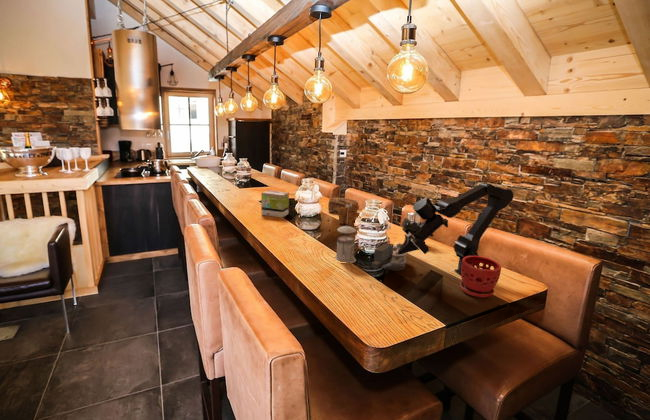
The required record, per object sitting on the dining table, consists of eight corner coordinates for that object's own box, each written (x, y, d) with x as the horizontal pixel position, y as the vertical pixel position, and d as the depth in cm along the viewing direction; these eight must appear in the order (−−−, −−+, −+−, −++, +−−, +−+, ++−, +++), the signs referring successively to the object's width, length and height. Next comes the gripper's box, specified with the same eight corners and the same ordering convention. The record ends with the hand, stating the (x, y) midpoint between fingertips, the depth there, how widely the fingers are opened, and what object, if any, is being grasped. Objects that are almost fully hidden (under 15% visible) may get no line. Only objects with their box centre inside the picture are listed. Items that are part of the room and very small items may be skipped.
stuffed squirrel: (359, 227, 209) (361, 205, 206) (335, 225, 211) (336, 203, 208) (360, 222, 218) (361, 201, 215) (337, 220, 220) (338, 200, 217)
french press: (358, 257, 161) (361, 203, 155) (353, 266, 150) (356, 209, 144) (336, 254, 163) (339, 201, 158) (330, 263, 153) (332, 206, 147)
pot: (392, 258, 161) (393, 245, 160) (412, 264, 155) (413, 251, 154) (363, 272, 145) (364, 258, 143) (384, 279, 138) (385, 265, 137)
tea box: (260, 215, 226) (260, 192, 223) (267, 211, 236) (267, 189, 232) (282, 217, 222) (283, 194, 219) (288, 214, 232) (289, 191, 228)
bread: (327, 212, 240) (328, 198, 238) (332, 209, 250) (333, 195, 247) (354, 216, 234) (355, 201, 232) (358, 212, 244) (359, 198, 241)
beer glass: (417, 244, 182) (420, 215, 179) (404, 242, 183) (406, 214, 180) (417, 240, 189) (420, 212, 185) (403, 238, 190) (406, 211, 187)
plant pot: (451, 291, 131) (455, 260, 128) (467, 281, 140) (471, 252, 137) (487, 304, 122) (493, 272, 119) (502, 293, 131) (507, 262, 128)
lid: (390, 244, 160) (391, 233, 159) (412, 250, 154) (413, 238, 153) (365, 259, 142) (366, 246, 140) (389, 265, 136) (390, 252, 135)
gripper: (408, 206, 145) (380, 232, 147) (423, 218, 127) (390, 247, 129) (426, 225, 147) (397, 250, 149) (442, 239, 129) (410, 268, 131)
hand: (398, 253), depth 140 cm, fingers closed
